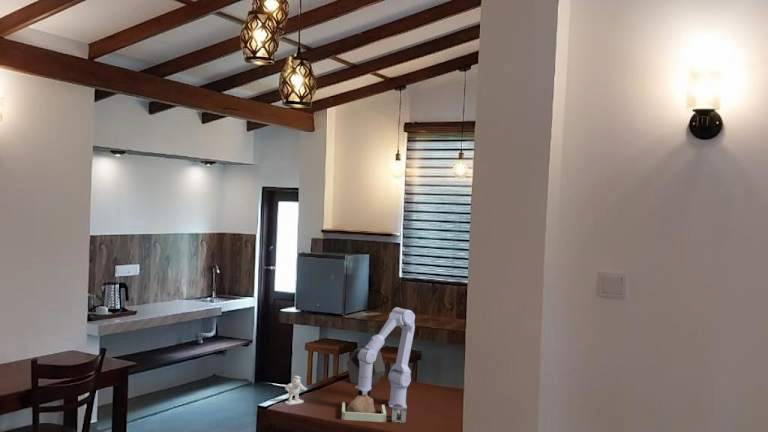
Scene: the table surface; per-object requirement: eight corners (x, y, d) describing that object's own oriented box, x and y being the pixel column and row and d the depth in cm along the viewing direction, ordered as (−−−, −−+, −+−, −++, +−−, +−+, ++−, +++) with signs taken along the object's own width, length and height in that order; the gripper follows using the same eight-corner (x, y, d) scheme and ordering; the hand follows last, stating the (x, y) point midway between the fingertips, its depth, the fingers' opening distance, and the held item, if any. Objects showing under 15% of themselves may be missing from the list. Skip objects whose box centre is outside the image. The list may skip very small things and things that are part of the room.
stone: (370, 416, 303) (361, 395, 305) (383, 410, 297) (374, 388, 300) (350, 425, 293) (340, 402, 296) (363, 419, 288) (353, 396, 290)
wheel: (391, 415, 298) (392, 403, 298) (403, 416, 298) (404, 404, 298) (392, 419, 292) (393, 406, 292) (404, 420, 292) (405, 407, 292)
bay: (341, 409, 304) (342, 402, 304) (383, 411, 305) (384, 404, 305) (341, 419, 287) (342, 412, 287) (386, 422, 288) (386, 415, 288)
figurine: (290, 406, 302) (293, 378, 303) (282, 402, 307) (284, 375, 307) (307, 403, 309) (309, 376, 309) (298, 400, 313) (300, 373, 314)
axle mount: (391, 420, 291) (392, 406, 291) (405, 421, 291) (406, 407, 292) (391, 422, 289) (393, 407, 289) (405, 422, 289) (406, 408, 290)
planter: (341, 370, 359) (360, 340, 353) (350, 369, 365) (370, 339, 359) (361, 394, 351) (381, 364, 344) (370, 392, 357) (390, 362, 350)
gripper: (356, 372, 312) (353, 402, 312) (356, 379, 297) (354, 411, 297) (371, 373, 312) (369, 403, 312) (372, 380, 298) (370, 412, 298)
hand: (363, 407), depth 305 cm, fingers closed
